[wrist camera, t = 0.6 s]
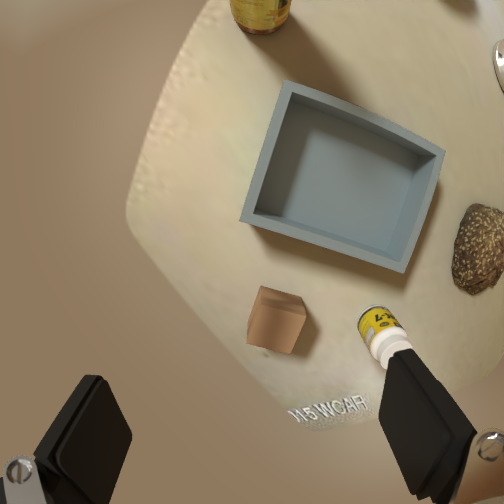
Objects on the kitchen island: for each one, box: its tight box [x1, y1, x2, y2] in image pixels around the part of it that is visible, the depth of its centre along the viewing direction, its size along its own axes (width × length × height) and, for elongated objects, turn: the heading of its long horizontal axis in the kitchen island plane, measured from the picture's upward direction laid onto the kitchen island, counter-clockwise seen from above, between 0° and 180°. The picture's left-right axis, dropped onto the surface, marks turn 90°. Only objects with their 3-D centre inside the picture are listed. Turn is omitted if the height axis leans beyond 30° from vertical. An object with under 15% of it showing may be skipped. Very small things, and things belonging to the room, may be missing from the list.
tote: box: [239, 79, 446, 274], centre depth 29 cm, size 18×14×5 cm
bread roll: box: [451, 204, 504, 294], centre depth 32 cm, size 13×12×5 cm
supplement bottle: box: [357, 305, 413, 370], centre depth 33 cm, size 5×5×8 cm
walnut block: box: [247, 286, 307, 354], centre depth 34 cm, size 5×5×5 cm
